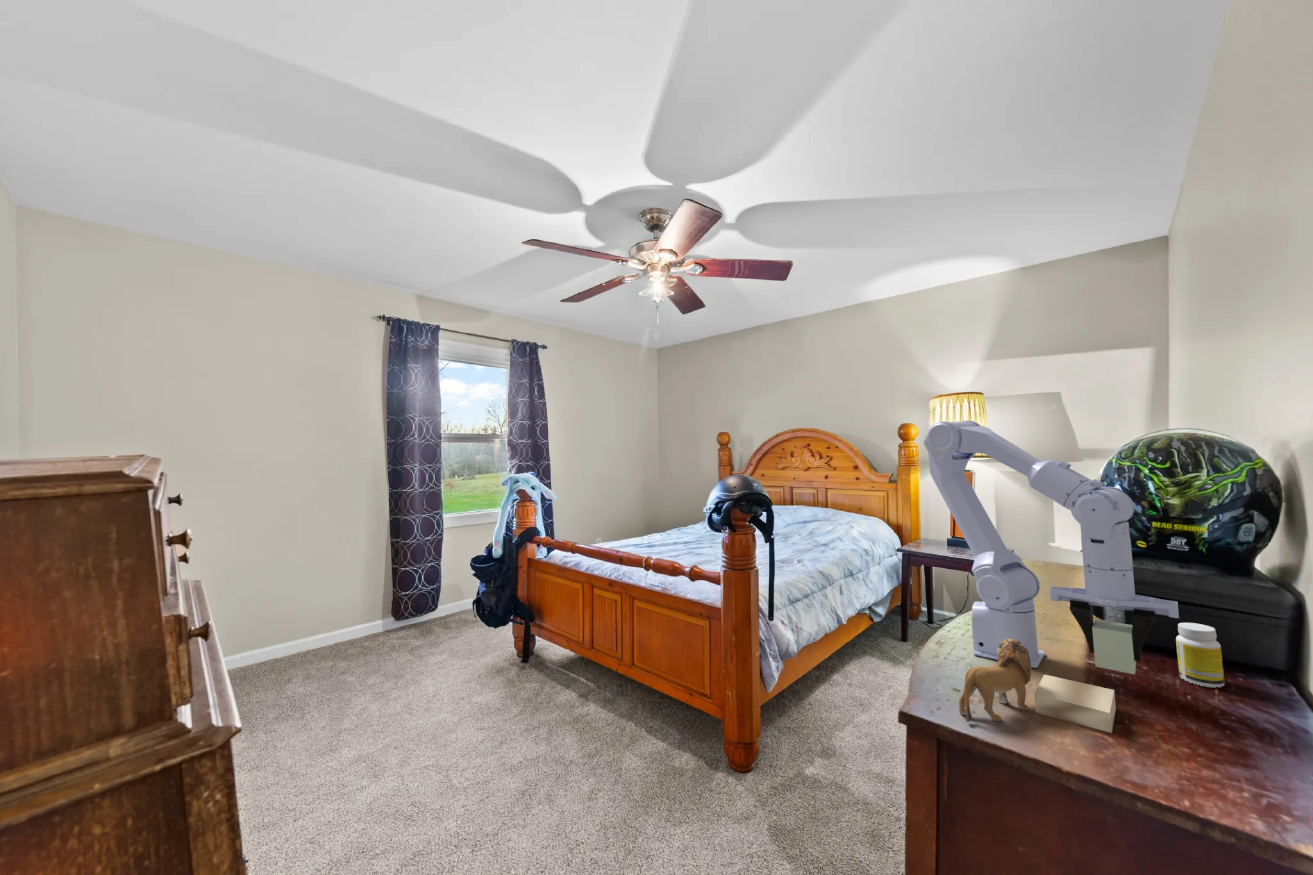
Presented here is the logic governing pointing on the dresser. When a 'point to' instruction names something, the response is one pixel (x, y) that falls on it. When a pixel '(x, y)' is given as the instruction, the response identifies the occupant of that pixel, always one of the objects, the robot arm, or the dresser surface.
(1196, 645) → the supplement bottle
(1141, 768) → the dresser surface
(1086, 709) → the pale maple block
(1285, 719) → the dresser surface
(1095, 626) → the sage green block
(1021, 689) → the lion figurine
